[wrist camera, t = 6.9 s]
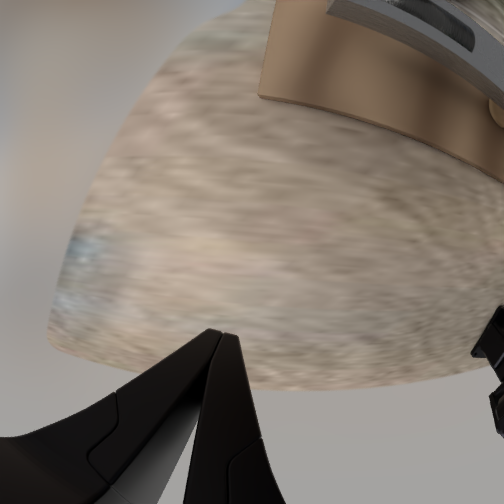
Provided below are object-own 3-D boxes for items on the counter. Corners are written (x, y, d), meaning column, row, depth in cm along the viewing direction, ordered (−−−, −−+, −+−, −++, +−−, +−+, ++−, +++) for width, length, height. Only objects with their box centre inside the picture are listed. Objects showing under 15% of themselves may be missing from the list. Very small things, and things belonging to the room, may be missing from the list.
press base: (533, 98, 10) (543, 98, 9) (522, 196, 14) (532, 200, 13) (283, -16, 12) (281, -26, 11) (260, 97, 16) (257, 94, 15)
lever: (549, 122, 8) (571, 127, 6) (547, 157, 9) (568, 164, 7) (329, -28, 7) (344, -52, 4) (323, 16, 8) (339, -7, 6)
